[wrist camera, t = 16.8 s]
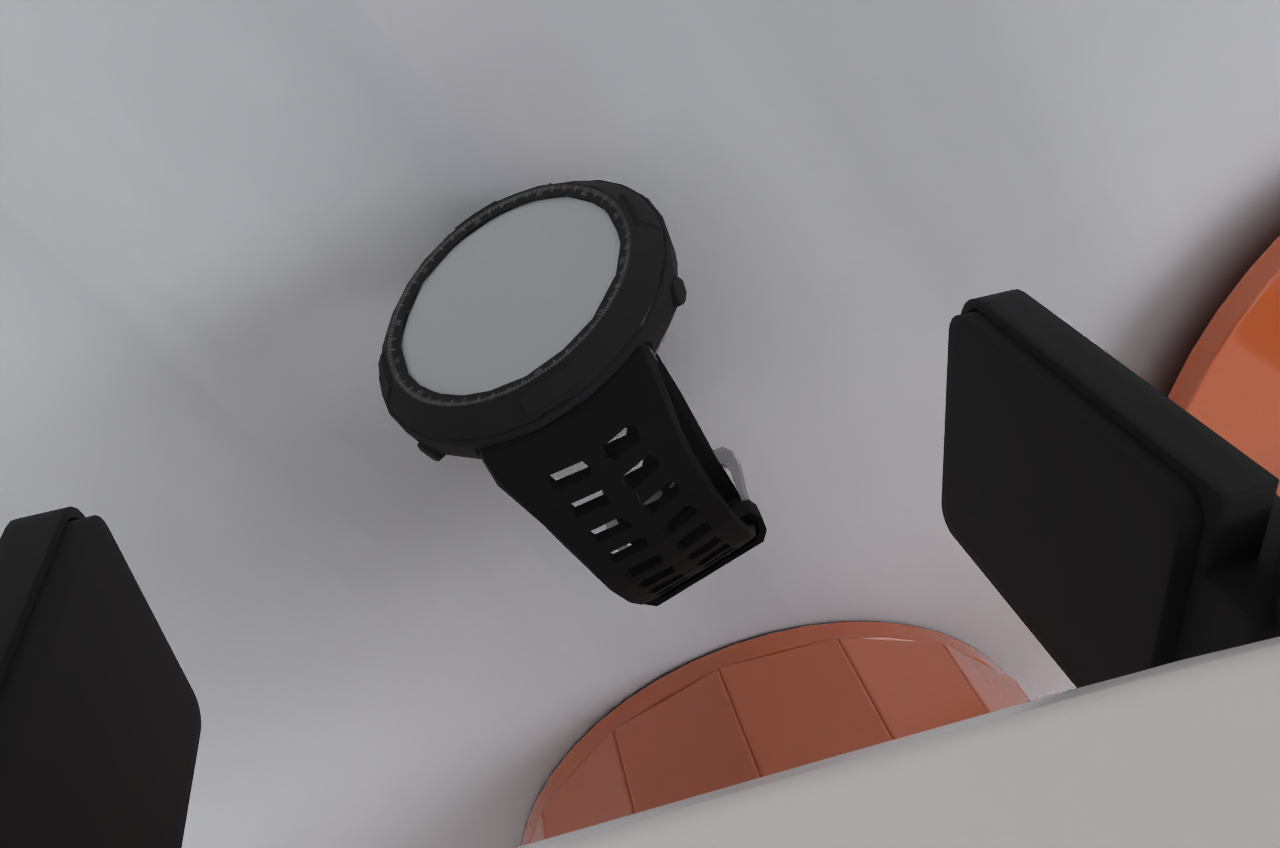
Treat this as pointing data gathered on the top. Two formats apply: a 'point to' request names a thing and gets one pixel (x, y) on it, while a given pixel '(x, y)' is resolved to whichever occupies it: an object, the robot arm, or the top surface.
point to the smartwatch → (570, 383)
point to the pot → (766, 716)
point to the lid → (1241, 366)
